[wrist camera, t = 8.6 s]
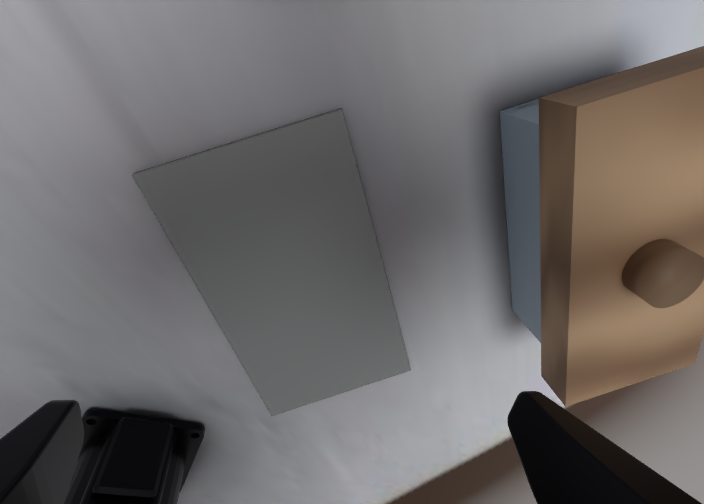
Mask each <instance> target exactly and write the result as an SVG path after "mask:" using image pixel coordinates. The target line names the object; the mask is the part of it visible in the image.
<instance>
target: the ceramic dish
mask: <svg viewBox="0 0 704 504" xmlns="http://www.w3.org/2000/svg"><path fill="white" fill-rule="evenodd" d="M500 123H501V139H502V154H503V170H504V185H505V201H506V217H507V232H508V248H509V263H510V279H511V294H512V310H513V311H514V313H515V314H516V315H517V316H518V317H519V318H520V320H521V321H522V322H523V323H524V324H525V325H526V326H527V328H528V329H529V330H530V331H531V332H532V333H533V334H534V336H535V337H536V338H537V339H538V340H539V341H540V343H541V277H540V179H539V99H536V100H533V101H530V102H527V103H524V104H521V105H517V106H514V107H511V108H508V109H505V110H502V111H500Z"/></svg>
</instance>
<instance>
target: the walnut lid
mask: <svg viewBox="0 0 704 504" xmlns="http://www.w3.org/2000/svg"><path fill="white" fill-rule="evenodd" d="M539 179H540V277H541V375H542V377H543V379H544V380H545V381H546V382H547V384H548V385H549V386H550V387H551V389H552V390H553V391H554V393H555V394H556V395H557V396H558V398H559V399H560V400H561V401H562V403H563V404H564V405H565V407H566V406H569V405H572V404H575V403H578V402H581V401H583V400H587V399H590V398H593V397H595V396H599V395H602V394H605V393H608V392H611V391H613V390H617V389H620V388H623V387H626V386H629V385H631V384H635V383H638V382H641V381H644V380H647V379H649V378H653V377H656V376H659V375H662V374H665V373H668V372H671V371H674V370H677V369H680V368H683V367H686V366H688V365H692V364H694V363H695V361H696V358H697V354H698V350H699V347H700V343H701V340H702V336H703V333H704V46H703V47H699V48H696V49H693V50H690V51H687V52H683V53H680V54H677V55H674V56H671V57H667V58H664V59H661V60H658V61H654V62H651V63H648V64H645V65H642V66H638V67H635V68H632V69H629V70H626V71H622V72H619V73H616V74H613V75H610V76H606V77H603V78H600V79H597V80H594V81H590V82H587V83H584V84H581V85H578V86H574V87H571V88H568V89H565V90H562V91H558V92H555V93H552V94H549V95H546V96H542V97H539Z"/></svg>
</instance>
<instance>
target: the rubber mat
mask: <svg viewBox="0 0 704 504" xmlns="http://www.w3.org/2000/svg"><path fill="white" fill-rule="evenodd" d="M132 176H133V178H134V180H135V182H136V183H137V185H138V187H139V188H140V190H141V192H142V194H143V195H144V197H145V199H146V201H147V202H148V204H149V206H150V207H151V209H152V211H153V213H154V214H155V216H156V218H157V219H158V221H159V223H160V225H161V226H162V228H163V230H164V231H165V233H166V235H167V237H168V238H169V240H170V242H171V244H172V245H173V247H174V249H175V250H176V252H177V254H178V256H179V257H180V259H181V261H182V262H183V264H184V266H185V268H186V269H187V271H188V273H189V275H190V276H191V278H192V280H193V281H194V283H195V285H196V287H197V288H198V290H199V292H200V293H201V295H202V297H203V299H204V300H205V302H206V304H207V305H208V307H209V309H210V311H211V312H212V314H213V316H214V318H215V319H216V321H217V323H218V324H219V326H220V328H221V330H222V331H223V333H224V335H225V336H226V338H227V340H228V342H229V343H230V345H231V347H232V349H233V350H234V352H235V354H236V355H237V357H238V359H239V361H240V362H241V364H242V366H243V367H244V369H245V371H246V373H247V374H248V376H249V378H250V380H251V381H252V383H253V385H254V386H255V388H256V390H257V392H258V393H259V395H260V397H261V398H262V400H263V402H264V404H265V405H266V407H267V409H268V410H269V412H270V414H271V416H274V415H277V414H280V413H283V412H286V411H289V410H292V409H295V408H298V407H301V406H304V405H307V404H310V403H313V402H316V401H319V400H322V399H325V398H328V397H331V396H334V395H337V394H340V393H343V392H346V391H349V390H352V389H355V388H358V387H361V386H364V385H367V384H370V383H373V382H376V381H380V380H383V379H386V378H389V377H392V376H395V375H398V374H401V373H404V372H407V371H410V370H411V368H410V364H409V360H408V357H407V353H406V349H405V345H404V342H403V338H402V334H401V330H400V326H399V323H398V319H397V315H396V311H395V308H394V304H393V300H392V296H391V292H390V289H389V285H388V281H387V277H386V274H385V270H384V266H383V262H382V258H381V255H380V251H379V247H378V243H377V240H376V236H375V232H374V228H373V224H372V221H371V217H370V213H369V209H368V206H367V202H366V198H365V194H364V190H363V187H362V183H361V179H360V175H359V172H358V168H357V164H356V160H355V156H354V153H353V149H352V145H351V141H350V138H349V134H348V130H347V126H346V122H345V119H344V115H343V111H342V109H341V108H340V109H337V110H334V111H331V112H327V113H324V114H321V115H318V116H315V117H312V118H308V119H305V120H302V121H299V122H296V123H292V124H289V125H286V126H283V127H280V128H276V129H273V130H270V131H267V132H264V133H261V134H257V135H254V136H251V137H248V138H245V139H241V140H238V141H235V142H232V143H229V144H225V145H222V146H219V147H216V148H213V149H210V150H206V151H203V152H200V153H197V154H194V155H190V156H187V157H184V158H181V159H178V160H174V161H171V162H168V163H165V164H162V165H159V166H155V167H152V168H149V169H146V170H143V171H139V172H136V173H134V174H133V175H132Z"/></svg>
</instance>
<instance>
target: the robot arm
mask: <svg viewBox="0 0 704 504" xmlns="http://www.w3.org/2000/svg"><path fill="white" fill-rule="evenodd" d="M508 427H509V430H510V432H511V435H512V438H513V441H514V443H515V446H516V449H517V451H518V454H519V457H520V460H521V463H522V465H523V468H524V471H525V473H526V476H527V479H528V482H529V484H530V487H531V489H532V492H533V495H534V497H535V499H536V501H537V503H538V504H701V503H700V502H699V501H697V500H696V499H694V498H693V497H691V496H690V495H688V494H687V493H685V492H684V491H683V490H681V489H680V488H678V487H677V486H675V485H674V484H673V483H671V482H669V481H668V480H667V479H665V478H664V477H662V476H661V475H659V474H658V473H657V472H655V471H654V470H652V469H651V468H649V467H648V466H646V465H645V464H643V463H642V462H640V461H639V460H638V459H636V458H635V457H633V456H632V455H630V454H629V453H627V452H626V451H625V450H623V449H622V448H620V447H619V446H617V445H616V444H614V443H613V442H611V441H610V440H609V439H607V438H605V437H604V436H603V435H601V434H600V433H598V432H597V431H595V430H594V429H593V428H591V427H590V426H588V425H587V424H585V423H584V422H582V421H581V420H579V419H578V418H576V417H575V416H574V415H572V414H571V413H569V412H568V411H566V410H565V409H563V408H562V407H561V406H559V405H558V404H556V403H555V402H553V401H552V400H550V399H549V398H547V397H546V396H545V395H543V394H542V393H540V392H537V391H524V392H521V393H520V394H519V395H518V396H517V398H516V400H515V402H514V404H513V407H512V409H511V411H510V413H509V415H508ZM204 431H205V428H204V427H203V426H202V425H199V424H193V423H186V422H179V421H172V420H165V419H158V418H151V417H144V416H137V415H130V414H123V413H116V412H109V411H102V410H88V411H86V412H85V414H84V415H83V417H82V416H81V411H80V406H79V403H78V402H77V401H75V400H54V401H50V402H48V403H46V404H45V405H43V406H42V407H41V408H40V409H38V410H37V411H36V412H34V413H33V414H32V415H31V416H29V417H28V418H27V419H25V420H24V421H23V422H22V423H20V424H19V425H18V426H16V427H15V428H14V429H13V430H11V431H10V432H9V433H7V434H6V435H5V436H4V437H2V438H1V439H0V504H177V502H178V497H179V493H180V491H181V489H182V486H183V484H184V482H185V479H186V477H187V475H188V472H189V470H190V468H191V465H192V463H193V460H194V458H195V456H196V453H197V451H198V449H199V446H200V444H201V442H202V439H203V437H204Z"/></svg>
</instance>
